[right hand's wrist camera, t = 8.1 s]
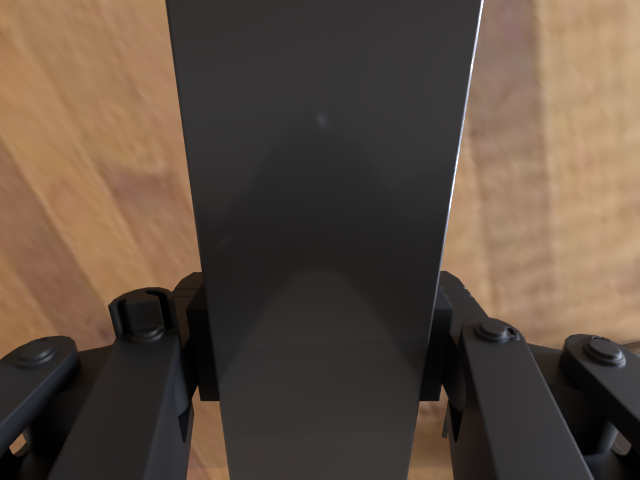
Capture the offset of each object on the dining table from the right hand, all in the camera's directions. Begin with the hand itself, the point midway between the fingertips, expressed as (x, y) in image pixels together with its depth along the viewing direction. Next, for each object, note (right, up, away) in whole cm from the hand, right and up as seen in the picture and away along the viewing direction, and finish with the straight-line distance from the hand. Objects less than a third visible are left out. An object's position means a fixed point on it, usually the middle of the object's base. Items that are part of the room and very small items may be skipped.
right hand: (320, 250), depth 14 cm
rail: (0, +12, -6) cm, 13 cm away
